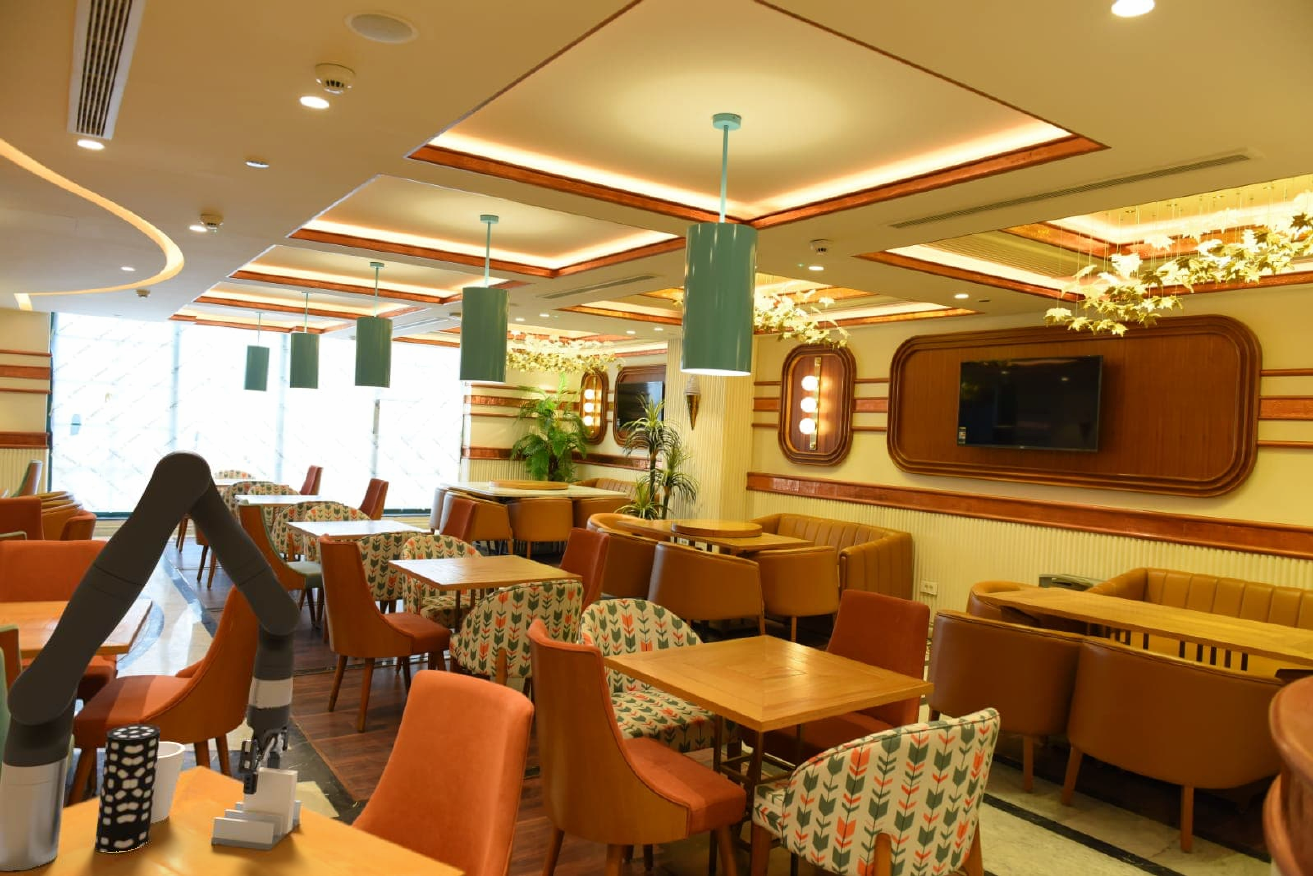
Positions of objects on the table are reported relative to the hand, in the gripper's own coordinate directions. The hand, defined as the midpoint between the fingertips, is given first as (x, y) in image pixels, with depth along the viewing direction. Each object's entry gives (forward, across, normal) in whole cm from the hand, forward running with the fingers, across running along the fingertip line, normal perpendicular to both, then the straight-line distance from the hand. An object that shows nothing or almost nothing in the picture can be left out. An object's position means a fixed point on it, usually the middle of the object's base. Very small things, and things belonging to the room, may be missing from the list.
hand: (261, 785), depth 164 cm
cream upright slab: (+8, 0, +2) cm, 8 cm away
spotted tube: (+9, +9, -20) cm, 24 cm away
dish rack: (+9, 0, 0) cm, 9 cm away
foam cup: (+9, -2, -22) cm, 24 cm away
